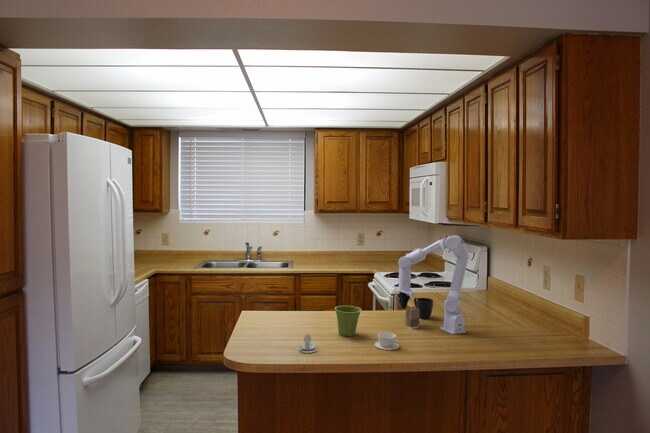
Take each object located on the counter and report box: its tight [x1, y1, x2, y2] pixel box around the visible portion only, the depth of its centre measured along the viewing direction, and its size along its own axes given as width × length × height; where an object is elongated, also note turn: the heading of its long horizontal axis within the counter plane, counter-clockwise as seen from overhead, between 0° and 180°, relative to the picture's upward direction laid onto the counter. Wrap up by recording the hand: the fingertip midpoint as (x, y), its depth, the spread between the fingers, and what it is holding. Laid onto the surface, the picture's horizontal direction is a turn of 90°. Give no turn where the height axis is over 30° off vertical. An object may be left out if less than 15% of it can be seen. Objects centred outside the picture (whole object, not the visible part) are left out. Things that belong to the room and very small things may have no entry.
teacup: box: [374, 331, 400, 351], centre depth 170 cm, size 10×10×5 cm
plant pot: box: [334, 305, 362, 337], centre depth 183 cm, size 12×12×11 cm
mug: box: [413, 297, 434, 320], centre depth 214 cm, size 8×12×10 cm
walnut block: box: [405, 306, 420, 330], centre depth 196 cm, size 4×4×9 cm
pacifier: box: [297, 333, 318, 354], centre depth 162 cm, size 7×6×6 cm
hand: (403, 308), depth 203 cm, fingers closed
